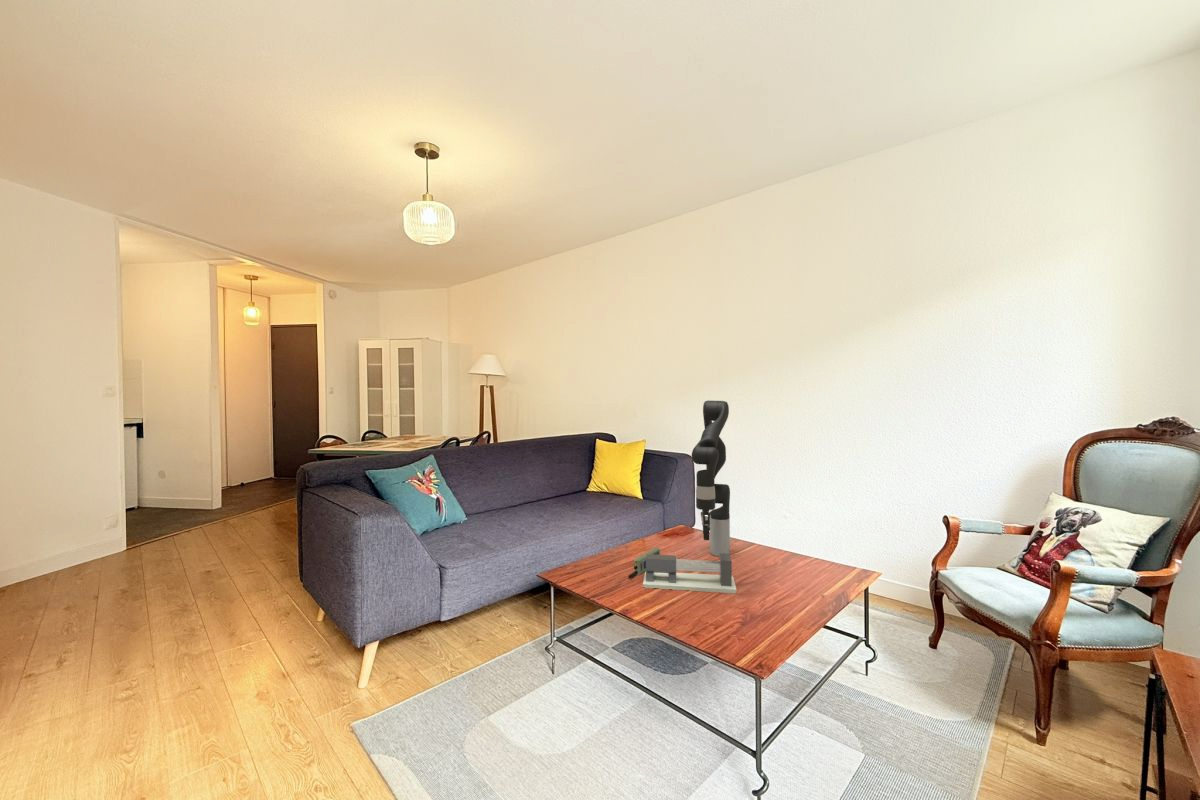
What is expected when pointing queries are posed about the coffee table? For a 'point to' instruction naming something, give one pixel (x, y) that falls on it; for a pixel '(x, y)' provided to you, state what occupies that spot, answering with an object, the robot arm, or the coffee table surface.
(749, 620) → the coffee table surface
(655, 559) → the sleeve
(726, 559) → the socket
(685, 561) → the silver metal bar
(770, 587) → the coffee table surface
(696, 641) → the coffee table surface
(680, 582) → the base board
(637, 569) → the handheld radio
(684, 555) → the coffee table surface
